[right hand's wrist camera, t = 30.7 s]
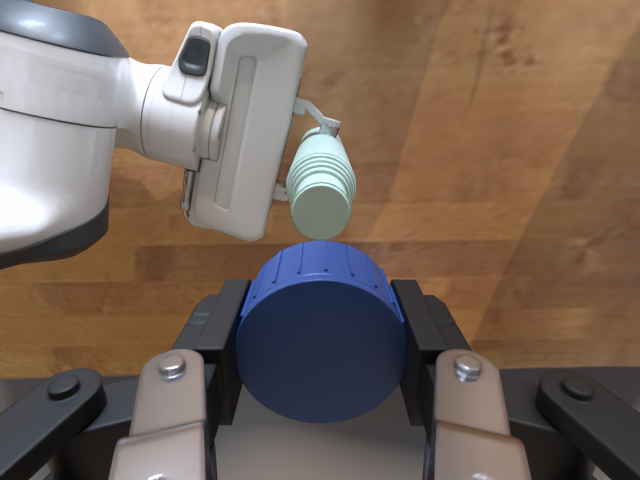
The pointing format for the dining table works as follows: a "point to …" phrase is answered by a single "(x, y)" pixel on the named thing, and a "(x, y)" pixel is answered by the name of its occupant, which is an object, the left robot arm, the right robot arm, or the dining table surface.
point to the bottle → (320, 187)
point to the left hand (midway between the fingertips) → (329, 160)
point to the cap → (321, 334)
